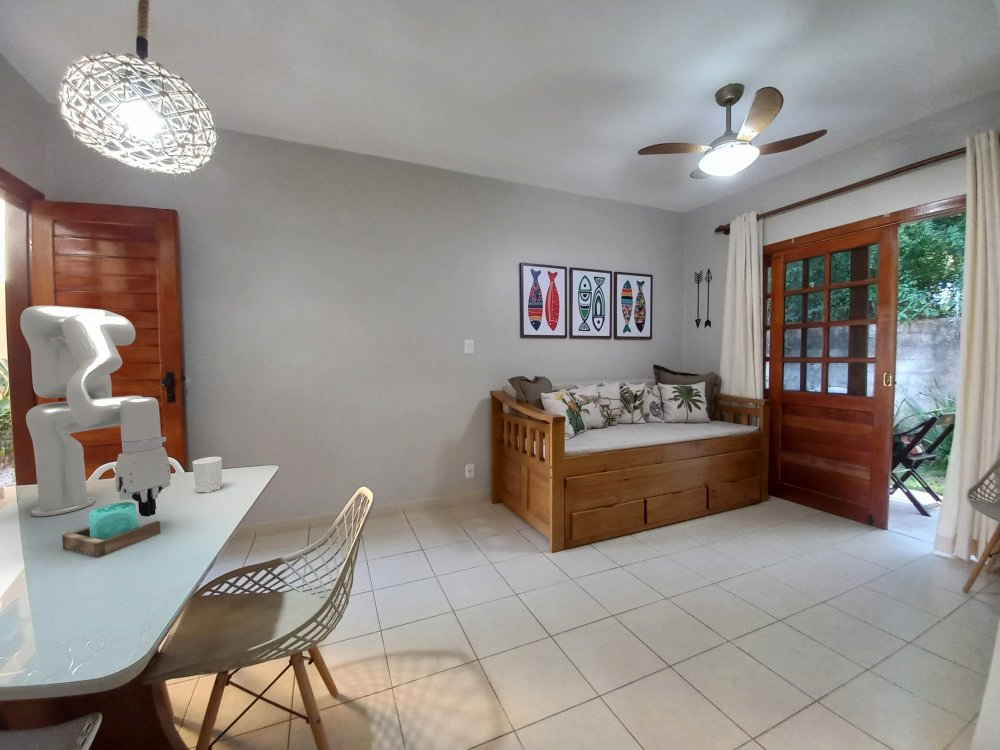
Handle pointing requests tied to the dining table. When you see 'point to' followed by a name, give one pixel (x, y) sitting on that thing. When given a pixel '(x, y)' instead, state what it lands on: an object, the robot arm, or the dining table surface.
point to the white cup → (207, 473)
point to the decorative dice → (112, 520)
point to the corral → (107, 540)
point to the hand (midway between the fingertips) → (148, 514)
